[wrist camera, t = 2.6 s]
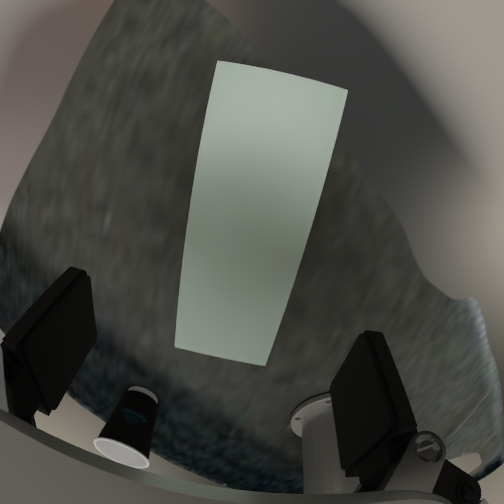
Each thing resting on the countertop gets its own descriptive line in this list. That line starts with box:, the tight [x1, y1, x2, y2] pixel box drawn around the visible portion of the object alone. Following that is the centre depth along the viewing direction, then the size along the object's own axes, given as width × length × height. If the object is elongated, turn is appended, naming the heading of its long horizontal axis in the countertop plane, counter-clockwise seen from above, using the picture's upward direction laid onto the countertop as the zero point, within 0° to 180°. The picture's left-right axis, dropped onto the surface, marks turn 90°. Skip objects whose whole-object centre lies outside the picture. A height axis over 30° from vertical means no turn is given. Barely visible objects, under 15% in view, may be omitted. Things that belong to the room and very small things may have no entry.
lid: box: [175, 61, 348, 366], centre depth 19 cm, size 7×20×2 cm, turn 168°
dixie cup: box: [93, 386, 158, 468], centre depth 35 cm, size 8×8×11 cm
